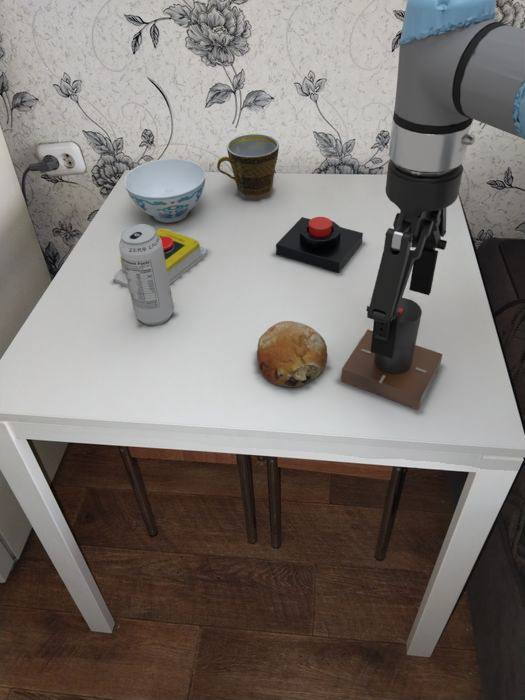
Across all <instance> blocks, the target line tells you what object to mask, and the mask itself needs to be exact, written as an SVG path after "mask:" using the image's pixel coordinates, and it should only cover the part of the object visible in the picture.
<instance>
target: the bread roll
mask: <svg viewBox="0 0 525 700" xmlns="http://www.w3.org/2000/svg"><path fill="white" fill-rule="evenodd" d="M256 355H257V364H258V368H259V372H260V374H261V375H262V376H263V377H264V378H265V379H266V380H267V381H268V382H270V383H272V384H274V385H276V386H283V387H289V388H295V387H301V386H303V385H307V383H309V382H312V381H313V380H315V379H316V378H317V377H318V376H320V374H321V372H323V371H325V368H326V367H327V362H328V347H327V343H326V341H325V339H324V338H323V336H322V335H321V334H320V333H319V332H318V331H317V330H315V329H314V328H312V327H311V326H309V325H307V324H306V323H302V322H298V321H293V320H284V321H283V320H282V321H279V322H277V323H274V324H273V325H272V326H270V327H269V328H268V329H267V330H266V331H265V332H264V333H262V335H260V337H259V338H258V343H257V352H256Z"/></svg>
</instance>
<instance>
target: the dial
mask: <svg viewBox="0 0 525 700" xmlns="http://www.w3.org/2000/svg"><path fill="white" fill-rule="evenodd" d="M398 312H400V319H399V326H398V333H397V340H396V347H395V354H394V356H393V358H392V359H391V358H388V357H385V356H382V355H379V354H376V353H375V357H374V361H375V364H376V366H377V367H378V368H379V369H381V370H382V371H384V372H387V373H390V374H400V373H403V372H406V371H407V370H408V369H409V368H410V367H411V365H412V360H413V355H414V350H415V345H416V344H417V339H418V334H419V328H420V323H421V318H422V314H423V311H422V308H421V306H420V305H419V304H418V303H417V302H416V301H414V300H413V299H410V298H406V297H402V300H401V303H400V306H399V309H398Z"/></svg>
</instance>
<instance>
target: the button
mask: <svg viewBox="0 0 525 700" xmlns="http://www.w3.org/2000/svg"><path fill="white" fill-rule="evenodd" d="M310 219H311V220H310V221H309V230H308V232H309V234H310V235H312V236H315V237H326V236H328V235H330V234H331V232H332V221H333V220H331V219H330V218H328V217H325V216H314V217H312V218H310Z"/></svg>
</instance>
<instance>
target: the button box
mask: <svg viewBox="0 0 525 700" xmlns="http://www.w3.org/2000/svg"><path fill="white" fill-rule="evenodd" d="M311 219H312V218H307V217H304V216H301V217H300V218H299V219H298V221H297V222H296V223H294V225H293V226H292V227H291V228H290V229H289V230H288V231H287V232H286V233H285V234H284V235H283V236H282V237H281V239H279V240H278V242H276V243H275V252H276V253H275V255H276V256H279V257H283V258H287V259H290V260H293V261H297V262H300V263H303V264H307V265H310V266H312V267H313V266H314V267H316V268H320V269H324V270H326V271H330V272H334V273H337V274H339V273H340V272H342V270H343V269H344V267H345V266H346V265H347V263H348V262H349V261H350V259H351V258H352V257H353V256H354V254H356V252H357V250H358V249H359V248H360V246H361V245H362V244H363V236H364V232H361V231H356V230H354V229H349V228H347V227H346V228H345V227H343V226H342V227H341V226H340V225H339V224H337V223H336V222H335V221H333V220H331V221H332V232H331V234H330V235H328V236H326V237H315V236H312V235H310V234H309V232H308V230H309V221H310V220H311Z"/></svg>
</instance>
